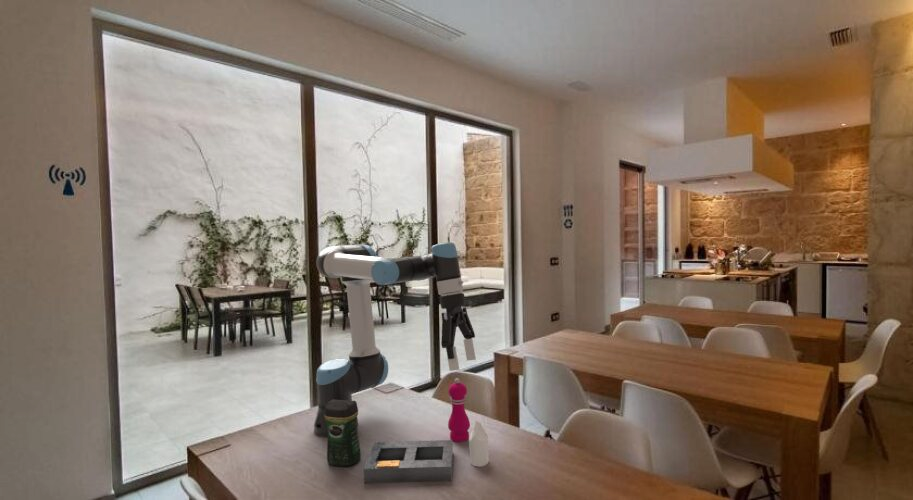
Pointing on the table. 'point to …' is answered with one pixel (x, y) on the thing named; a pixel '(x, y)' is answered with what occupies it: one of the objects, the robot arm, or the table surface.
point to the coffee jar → (342, 432)
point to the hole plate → (409, 462)
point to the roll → (478, 446)
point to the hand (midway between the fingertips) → (463, 364)
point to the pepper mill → (458, 413)
